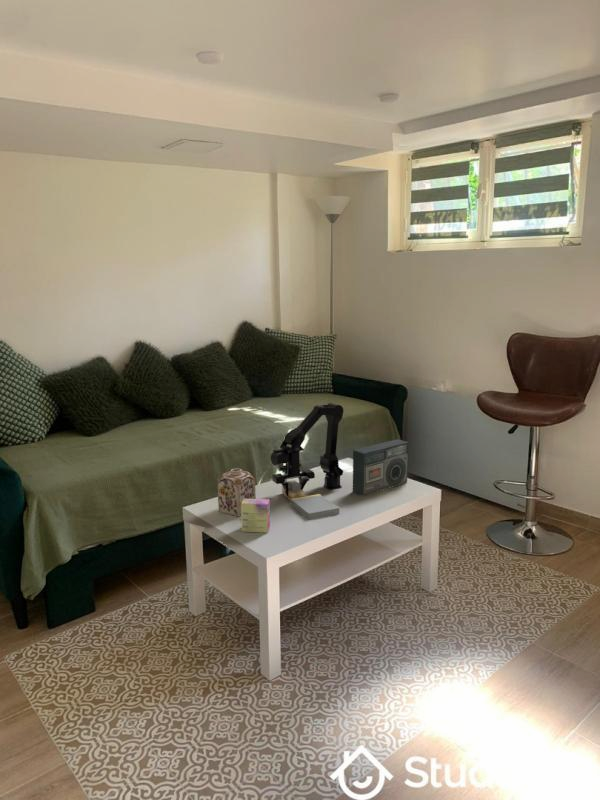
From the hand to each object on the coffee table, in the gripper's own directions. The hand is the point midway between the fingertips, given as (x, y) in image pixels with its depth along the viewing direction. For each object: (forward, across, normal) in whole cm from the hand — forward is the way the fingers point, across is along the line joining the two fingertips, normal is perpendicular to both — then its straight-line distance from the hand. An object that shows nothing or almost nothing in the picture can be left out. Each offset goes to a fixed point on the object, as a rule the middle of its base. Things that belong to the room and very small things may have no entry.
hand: (293, 494), depth 271 cm
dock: (+1, -2, +17) cm, 17 cm away
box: (+1, +28, +26) cm, 38 cm away
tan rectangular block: (+1, 0, 0) cm, 1 cm away
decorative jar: (+1, +28, +4) cm, 28 cm away
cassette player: (+1, -42, +6) cm, 42 cm away
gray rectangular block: (-2, 0, 0) cm, 2 cm away
